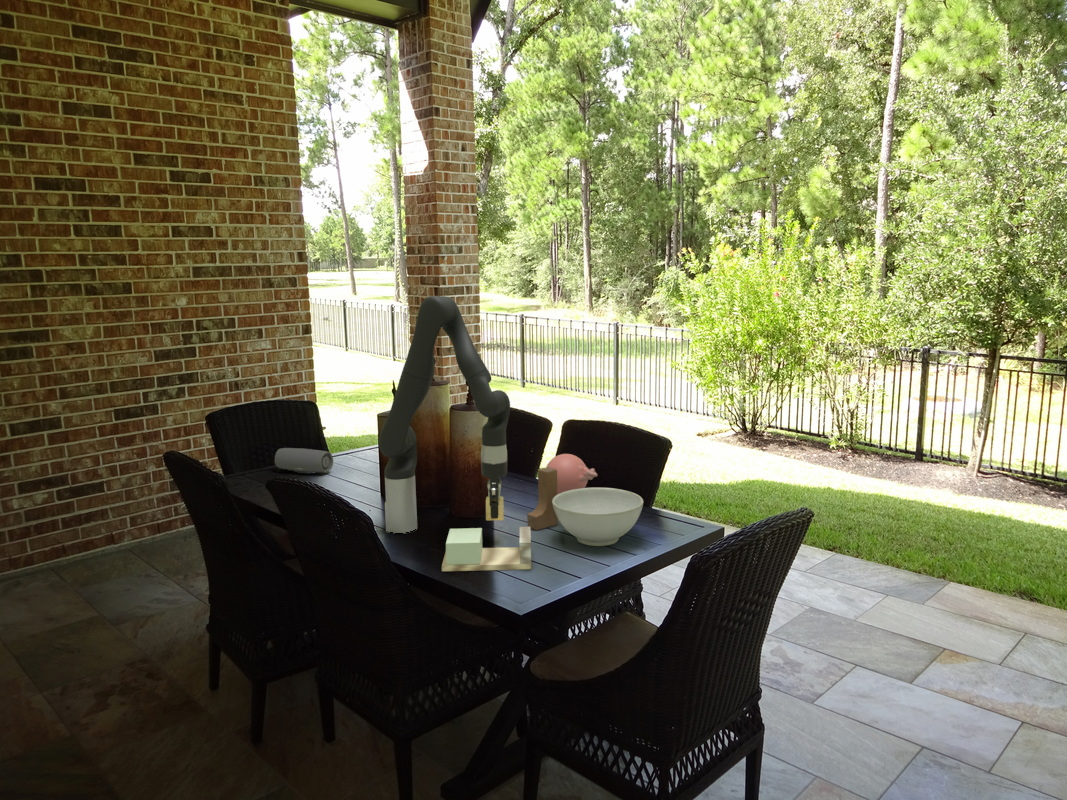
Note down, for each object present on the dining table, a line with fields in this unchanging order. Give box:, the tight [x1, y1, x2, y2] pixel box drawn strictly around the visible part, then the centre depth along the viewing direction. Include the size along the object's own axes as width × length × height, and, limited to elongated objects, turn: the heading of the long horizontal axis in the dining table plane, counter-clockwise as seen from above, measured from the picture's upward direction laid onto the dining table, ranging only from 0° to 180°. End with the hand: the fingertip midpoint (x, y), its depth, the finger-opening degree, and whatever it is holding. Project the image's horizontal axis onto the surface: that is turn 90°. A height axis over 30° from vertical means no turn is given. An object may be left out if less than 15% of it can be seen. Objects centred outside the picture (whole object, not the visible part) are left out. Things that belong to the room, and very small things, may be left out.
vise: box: [441, 526, 532, 572], centre depth 214 cm, size 24×13×8 cm, turn 91°
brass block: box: [485, 496, 505, 521], centre depth 229 cm, size 5×4×6 cm
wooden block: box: [527, 467, 559, 531], centre depth 242 cm, size 9×4×18 cm, turn 128°
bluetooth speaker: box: [274, 447, 334, 473], centre depth 315 cm, size 23×9×10 cm, turn 69°
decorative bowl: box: [552, 487, 644, 547], centre depth 230 cm, size 27×27×12 cm
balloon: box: [545, 453, 598, 494], centre depth 272 cm, size 15×20×15 cm
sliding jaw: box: [445, 527, 484, 565], centre depth 214 cm, size 9×12×6 cm
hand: (494, 515), depth 229 cm, fingers closed on brass block, 4 cm apart
